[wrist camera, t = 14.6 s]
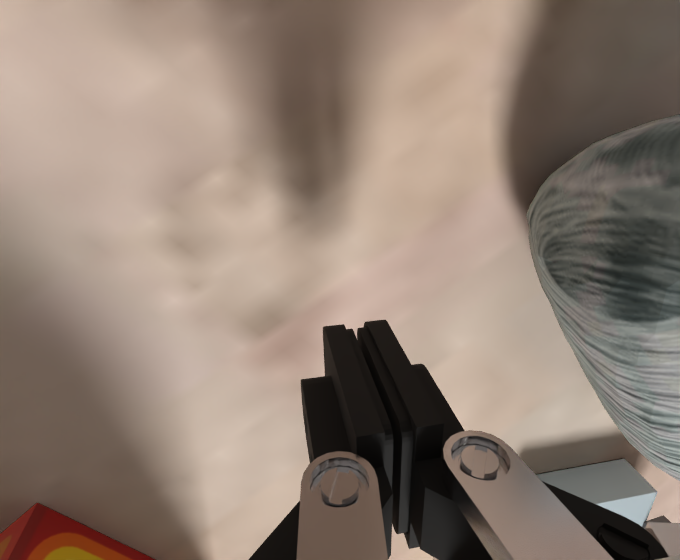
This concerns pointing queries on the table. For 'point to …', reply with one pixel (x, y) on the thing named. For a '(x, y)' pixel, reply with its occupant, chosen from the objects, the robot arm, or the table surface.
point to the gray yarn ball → (620, 277)
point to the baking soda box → (59, 540)
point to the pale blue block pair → (608, 487)
